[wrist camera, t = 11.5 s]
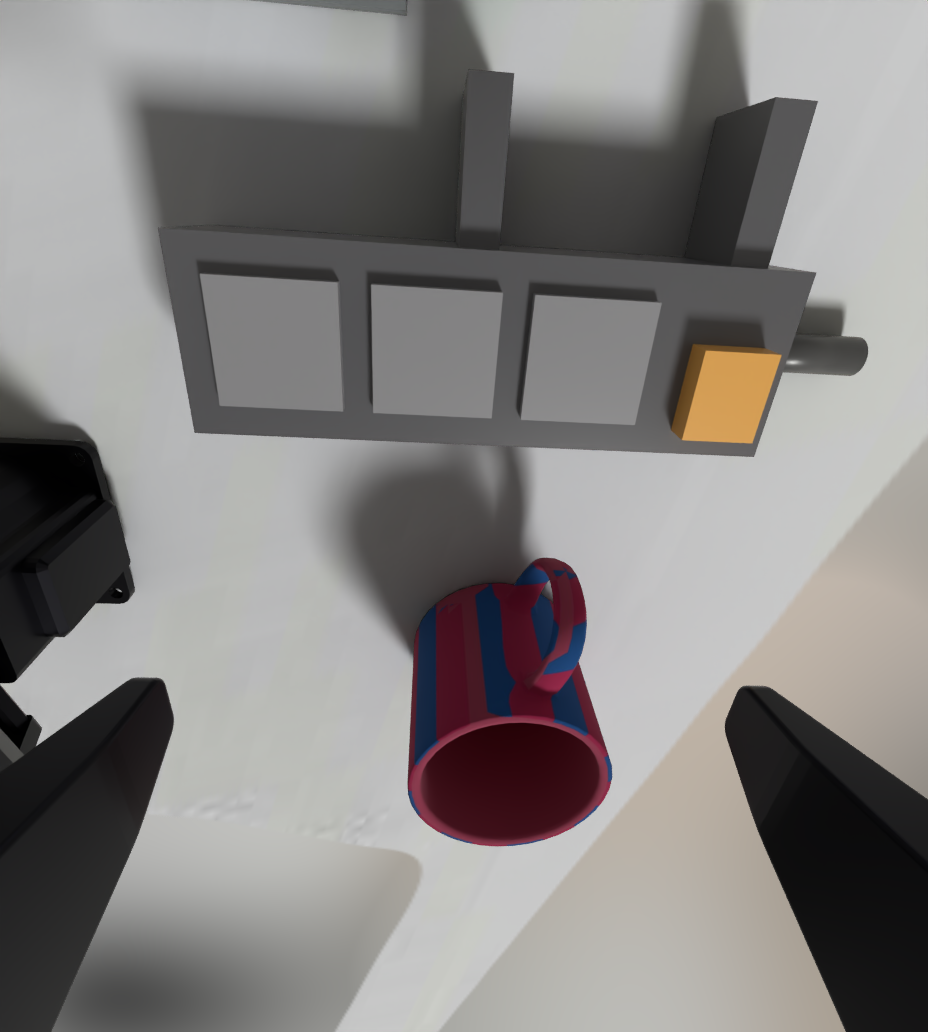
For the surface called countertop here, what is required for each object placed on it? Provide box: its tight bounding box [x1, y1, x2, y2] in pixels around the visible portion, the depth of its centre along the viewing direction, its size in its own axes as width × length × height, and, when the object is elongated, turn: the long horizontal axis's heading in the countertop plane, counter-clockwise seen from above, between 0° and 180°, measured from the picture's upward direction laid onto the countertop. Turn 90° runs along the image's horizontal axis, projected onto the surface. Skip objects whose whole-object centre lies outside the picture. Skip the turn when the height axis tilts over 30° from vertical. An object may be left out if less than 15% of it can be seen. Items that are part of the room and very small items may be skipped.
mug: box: [408, 558, 612, 846], centre depth 20 cm, size 7×10×7 cm
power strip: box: [158, 69, 868, 457], centre depth 15 cm, size 20×8×4 cm, turn 86°
